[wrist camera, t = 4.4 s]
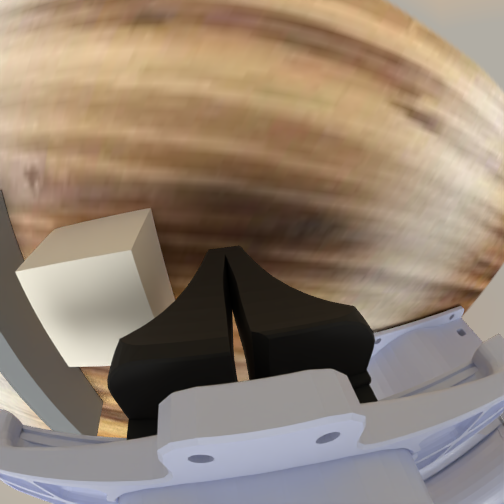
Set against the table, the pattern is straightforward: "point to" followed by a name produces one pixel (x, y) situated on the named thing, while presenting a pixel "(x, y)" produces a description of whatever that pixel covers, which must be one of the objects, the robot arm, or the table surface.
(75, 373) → the gray bar
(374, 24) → the table surface
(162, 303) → the cream block
